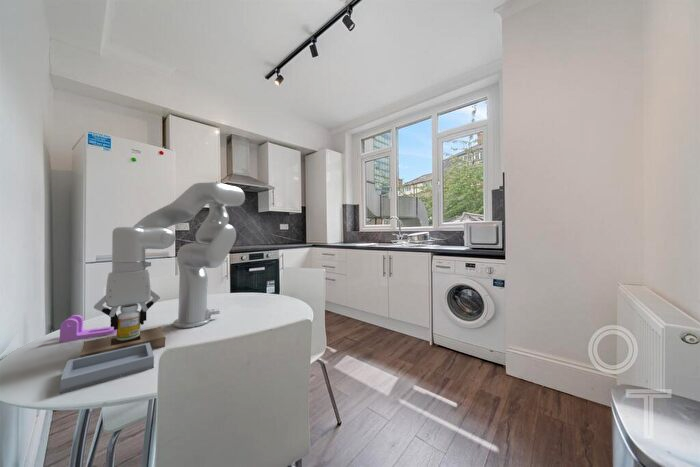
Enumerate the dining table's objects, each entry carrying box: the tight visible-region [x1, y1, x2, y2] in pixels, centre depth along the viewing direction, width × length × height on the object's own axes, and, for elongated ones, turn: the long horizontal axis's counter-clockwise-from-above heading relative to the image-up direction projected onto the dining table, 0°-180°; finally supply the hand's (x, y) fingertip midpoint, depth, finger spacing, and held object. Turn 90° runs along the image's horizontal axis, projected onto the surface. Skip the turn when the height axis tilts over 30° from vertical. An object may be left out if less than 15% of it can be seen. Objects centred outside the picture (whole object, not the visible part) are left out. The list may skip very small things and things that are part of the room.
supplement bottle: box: [116, 303, 141, 340], centre depth 75 cm, size 5×5×10 cm
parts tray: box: [59, 343, 155, 394], centre depth 63 cm, size 16×11×3 cm
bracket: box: [59, 314, 117, 343], centre depth 84 cm, size 13×6×7 cm, turn 123°
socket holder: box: [79, 326, 166, 358], centre depth 74 cm, size 18×11×3 cm, turn 134°
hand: (129, 325), depth 75 cm, fingers closed on supplement bottle, 5 cm apart
